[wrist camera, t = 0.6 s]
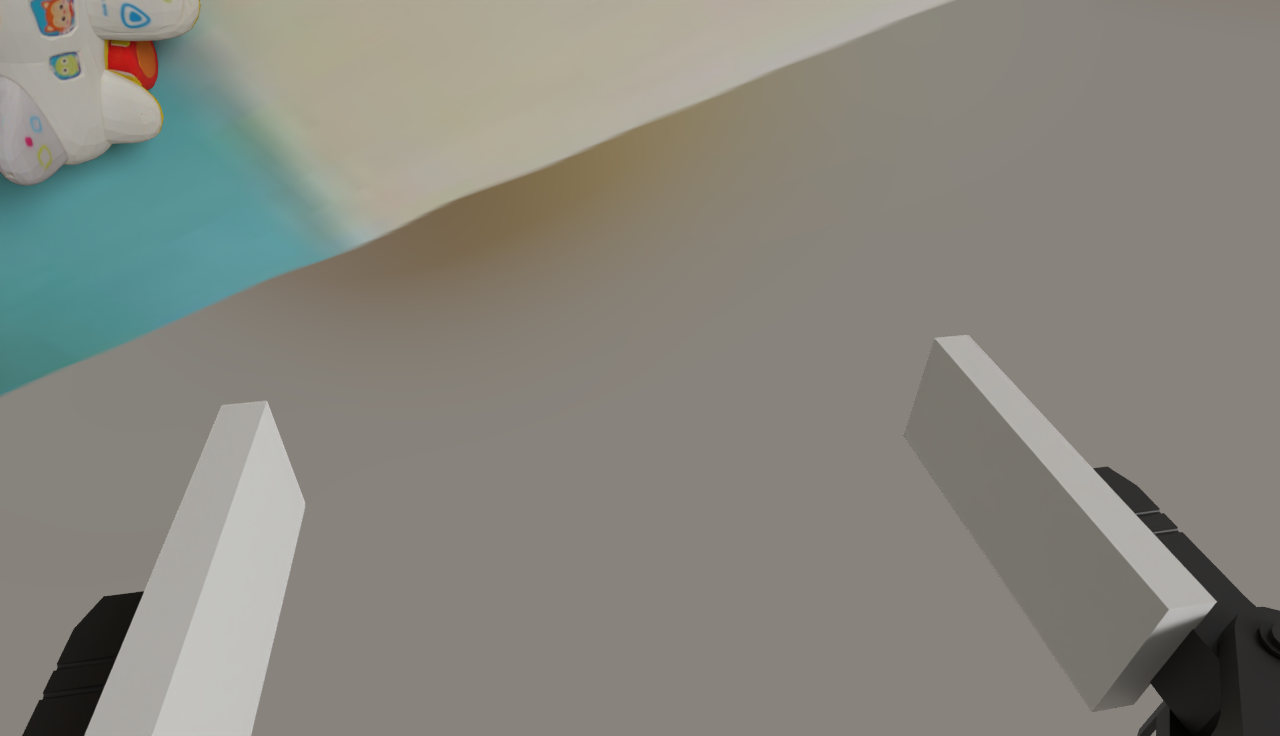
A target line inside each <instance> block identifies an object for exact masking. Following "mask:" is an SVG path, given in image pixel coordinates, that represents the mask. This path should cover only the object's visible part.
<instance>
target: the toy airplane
mask: <svg viewBox="0 0 1280 736" xmlns="http://www.w3.org/2000/svg"><path fill="white" fill-rule="evenodd" d="M200 6H201V5H200V0H0V172H1V173H2V174H3V176H4V177H5V178H7V179H8V180H10V181H11V182H13V183H16V184H19V185H34V184H37V183H40V182H43V181H44V180H46V179H47V178H49V177H50V176H52V175H53V174H54V173H55V172H56V171H57V170H58V169H59V168H60V167H61V166H62V165H77V164H80V163H83V162H87V161H90V160H93V159H95V158H97V157H98V156H100V155H102V154H103V153H104V152H105V151H106V150H108V149H109V148H110V146H111V145H112V144H117V143H139V142H143V141H147V140H149V139H151V138H154V137H155V136H156V135H158V133H159V132H160V131H161V127H162V124H163V113H162V109H161V106H160V104H159V102H158V101H157V99H156V98H155V97H154V96H153V95H152V94H151V93H150V92H149V91H147V90H149V89H151V88H152V87H153V86H154V84H155V82H156V79H157V76H158V60H157V53H156V51H155V48H154V45H153V42H152V41H153V40H164V39H169V38H174V37H178V36H181V35H183V34H184V33H186V32H188V31H189V30H190V29H191V28H193V26H194V24H195V23H196V21H197V19H198V17H199V12H200Z"/></svg>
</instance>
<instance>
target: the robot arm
mask: <svg viewBox="0 0 1280 736" xmlns="http://www.w3.org/2000/svg"><path fill="white" fill-rule="evenodd" d="M904 437H905V439H906V440H907V442H908V443H909V445H910V446H911V447H912V449H913V451H914V452H915V453H916V455H917V456H918V458H919V459H920V461H921V462H922V464H923V465H924V467H925V468H926V470H927V471H928V473H929V474H930V475H931V477H932V478H933V480H934V481H935V483H936V484H937V486H938V487H939V489H940V490H941V492H942V493H943V495H944V496H945V497H946V499H947V500H948V502H949V503H950V505H951V506H952V508H953V509H954V510H955V512H956V514H957V515H958V517H959V518H960V519H961V521H962V522H963V524H964V525H965V527H966V528H967V530H968V531H969V533H970V534H971V536H972V537H973V538H974V540H975V541H976V543H977V544H978V546H979V547H980V549H981V550H982V552H983V553H984V555H985V556H986V558H987V559H988V560H989V562H990V564H991V565H992V566H993V568H994V569H995V571H996V572H997V574H998V575H999V577H1000V578H1001V580H1002V581H1003V583H1004V584H1005V585H1006V587H1007V588H1008V590H1009V591H1010V593H1011V594H1012V596H1013V597H1014V599H1015V600H1016V602H1017V603H1018V605H1019V606H1020V608H1021V609H1022V610H1023V612H1024V613H1025V615H1026V616H1027V618H1028V619H1029V621H1030V622H1031V624H1032V625H1033V627H1034V628H1035V630H1036V631H1037V632H1038V634H1039V635H1040V637H1041V638H1042V640H1043V641H1044V643H1045V644H1046V646H1047V647H1048V649H1049V650H1050V651H1051V653H1052V654H1053V656H1054V657H1055V659H1056V660H1057V662H1058V663H1059V665H1060V666H1061V668H1062V669H1063V671H1064V672H1065V674H1066V675H1067V677H1068V678H1069V679H1070V681H1071V682H1072V684H1073V685H1074V687H1075V688H1076V690H1077V691H1078V693H1079V694H1080V696H1081V697H1082V699H1083V700H1084V701H1085V703H1086V704H1087V706H1088V707H1089V709H1090V710H1091V712H1095V711H1100V710H1106V709H1111V708H1117V707H1123V706H1128V705H1133V704H1134V703H1135V702H1136V701H1137V700H1138V699H1139V697H1140V696H1141V695H1142V693H1143V692H1144V691H1145V690H1146V689H1147V687H1148V686H1149V685H1150V684H1152V685H1153V687H1154V688H1155V690H1156V691H1157V692H1158V694H1159V695H1160V696H1161V697H1162V699H1163V700H1164V701H1163V702H1162V703H1161V704H1160V706H1159V707H1158V708H1157V709H1156V710H1155V711H1154V713H1153V714H1152V715H1151V716H1150V717H1149V718H1148V720H1147V721H1146V722H1145V723H1144V724H1143V726H1142V727H1141V728H1140V729H1139V732H1138V735H1137V736H1150V735H1151V734H1152V733H1153V732H1154V731H1155V730H1156V736H1280V611H1278V610H1274V609H1270V608H1266V607H1256V606H1255V605H1254V604H1252V603H1251V602H1250V601H1249V600H1248V599H1247V598H1246V597H1245V596H1244V595H1243V594H1242V593H1241V592H1240V591H1239V590H1238V589H1237V588H1236V587H1235V586H1234V585H1233V584H1232V583H1231V582H1230V581H1229V580H1228V579H1227V578H1226V576H1225V575H1224V574H1223V573H1222V572H1221V571H1220V570H1219V569H1218V568H1217V567H1216V566H1215V565H1214V564H1213V563H1212V562H1211V561H1210V560H1209V559H1208V558H1207V557H1206V556H1205V555H1204V554H1203V553H1202V552H1201V551H1200V550H1199V549H1198V548H1197V547H1196V546H1195V545H1194V544H1193V543H1192V542H1191V541H1190V540H1189V538H1188V537H1187V536H1186V535H1185V534H1184V533H1182V532H1178V530H1177V526H1176V525H1175V524H1174V523H1173V522H1172V521H1171V520H1170V519H1169V518H1168V517H1167V516H1166V515H1165V514H1164V513H1162V514H1161V513H1160V512H1159V508H1158V507H1157V506H1156V505H1155V504H1154V503H1153V502H1152V501H1151V499H1149V498H1148V496H1147V495H1146V494H1145V493H1144V492H1143V491H1142V490H1141V489H1140V488H1139V487H1138V486H1136V485H1135V484H1133V483H1132V482H1131V481H1129V480H1127V479H1126V478H1124V477H1123V476H1121V475H1119V474H1118V473H1116V472H1115V471H1113V470H1112V469H1110V468H1109V467H1101V468H1092V467H1091V466H1090V465H1089V464H1088V463H1087V462H1086V461H1085V460H1084V459H1083V458H1082V456H1081V455H1080V454H1079V453H1078V452H1077V451H1076V450H1075V449H1074V448H1073V447H1072V446H1071V445H1070V444H1069V443H1068V442H1067V440H1066V439H1065V438H1064V437H1063V436H1062V435H1061V434H1060V433H1059V432H1058V431H1057V430H1056V429H1055V428H1054V426H1053V425H1052V424H1051V423H1050V422H1049V421H1048V420H1047V419H1046V418H1045V417H1044V416H1043V415H1042V414H1041V412H1039V410H1038V409H1037V408H1036V407H1035V406H1034V405H1033V404H1032V403H1031V402H1030V401H1029V400H1028V399H1027V397H1025V395H1024V394H1023V393H1022V392H1021V391H1020V390H1019V389H1018V388H1017V387H1016V386H1015V385H1014V384H1013V383H1012V382H1011V381H1010V379H1009V378H1008V377H1007V376H1006V375H1005V374H1004V373H1003V372H1002V371H1001V370H1000V369H999V368H998V366H997V365H996V364H995V363H994V362H993V361H992V360H991V359H990V358H989V357H988V356H987V355H986V353H984V351H983V350H982V349H981V348H980V347H979V346H978V345H977V344H976V343H975V342H974V341H973V340H972V338H970V336H969V335H962V336H951V337H941V338H934V341H933V345H932V348H931V351H930V354H929V357H928V360H927V363H926V367H925V370H924V373H923V376H922V379H921V383H920V386H919V389H918V392H917V395H916V398H915V401H914V405H913V408H912V411H911V414H910V417H909V420H908V424H907V427H906V430H905V433H904ZM305 505H306V504H305V502H304V499H303V496H302V493H301V491H300V488H299V486H298V483H297V480H296V478H295V475H294V472H293V469H292V467H291V464H290V462H289V459H288V456H287V453H286V451H285V448H284V445H283V443H282V440H281V437H280V434H279V432H278V429H277V426H276V424H275V421H274V419H273V416H272V413H271V410H270V408H269V405H268V402H267V401H259V402H249V403H238V404H228V405H222V406H221V408H220V411H219V413H218V416H217V418H216V420H215V423H214V425H213V427H212V430H211V432H210V435H209V438H208V440H207V442H206V444H205V447H204V449H203V452H202V454H201V456H200V459H199V461H198V463H197V466H196V468H195V471H194V473H193V475H192V478H191V480H190V483H189V485H188V488H187V490H186V493H185V495H184V497H183V500H182V502H181V504H180V507H179V509H178V512H177V514H176V516H175V519H174V521H173V524H172V526H171V528H170V531H169V533H168V536H167V538H166V540H165V543H164V545H163V548H162V550H161V552H160V555H159V557H158V560H157V562H156V564H155V567H154V569H153V572H152V574H151V576H150V579H149V581H148V584H147V586H146V588H145V591H144V592H136V593H128V594H120V595H112V596H104V597H103V598H102V599H101V600H100V601H99V602H98V603H97V604H96V605H95V607H94V608H93V609H92V610H91V611H90V612H89V613H88V614H87V615H86V616H85V617H84V618H83V620H82V621H81V622H80V623H79V624H78V625H77V626H76V627H75V628H74V630H73V632H72V634H71V636H70V638H69V640H68V642H67V644H66V646H65V648H64V650H63V652H62V654H61V657H60V659H59V661H58V663H57V665H58V668H57V670H56V671H53V673H52V675H51V677H50V679H49V682H48V683H47V686H46V688H45V690H44V692H43V694H44V697H43V699H42V700H39V702H38V704H37V706H36V708H35V710H34V712H33V715H32V717H31V719H30V721H29V723H28V725H27V727H26V729H25V731H24V734H23V735H22V736H251V733H252V729H253V724H254V721H255V716H256V712H257V708H258V703H259V699H260V695H261V691H262V687H263V683H264V678H265V674H266V670H267V666H268V662H269V657H270V653H271V649H272V645H273V640H274V636H275V632H276V628H277V624H278V619H279V615H280V611H281V607H282V602H283V598H284V594H285V590H286V586H287V581H288V577H289V573H290V569H291V564H292V560H293V556H294V552H295V547H296V543H297V539H298V535H299V531H300V527H301V522H302V518H303V514H304V510H305Z"/></svg>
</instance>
